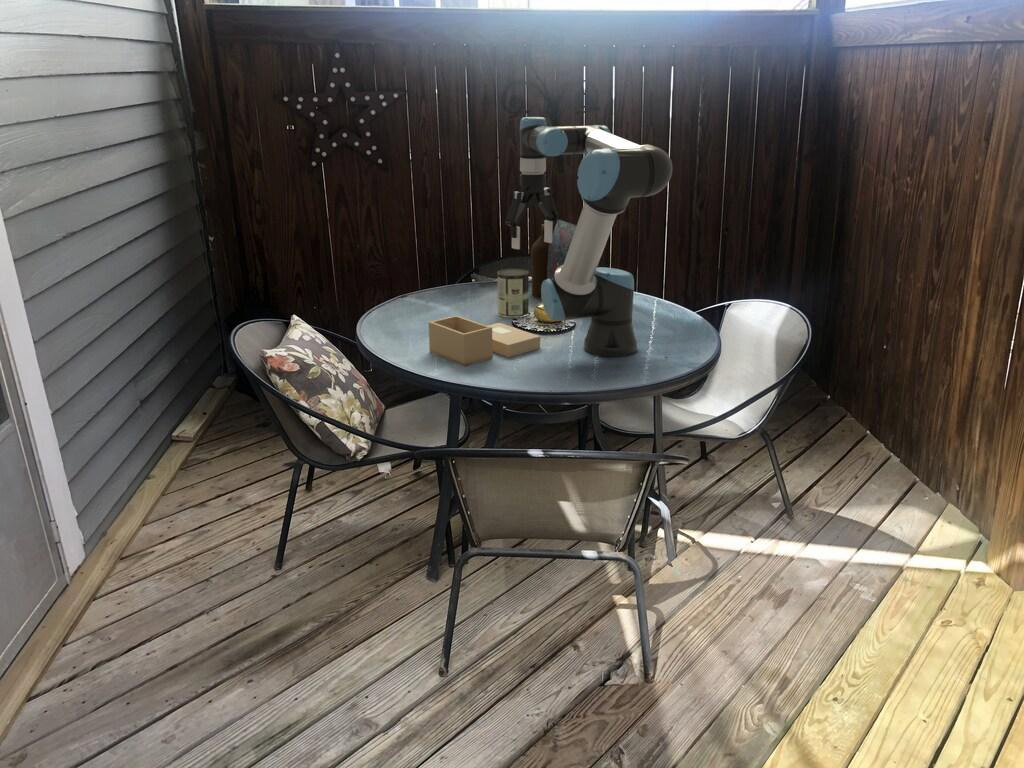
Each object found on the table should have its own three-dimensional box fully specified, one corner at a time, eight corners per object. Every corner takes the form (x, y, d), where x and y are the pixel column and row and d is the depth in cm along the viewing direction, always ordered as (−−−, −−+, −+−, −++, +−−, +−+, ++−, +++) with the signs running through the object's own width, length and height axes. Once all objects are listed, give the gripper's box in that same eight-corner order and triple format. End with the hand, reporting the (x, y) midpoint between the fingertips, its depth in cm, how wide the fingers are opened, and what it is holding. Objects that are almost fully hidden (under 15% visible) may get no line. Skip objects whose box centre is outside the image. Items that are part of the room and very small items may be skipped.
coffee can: (517, 308, 284) (517, 267, 279) (535, 315, 276) (535, 273, 271) (491, 312, 278) (491, 271, 273) (508, 320, 270) (508, 277, 265)
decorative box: (566, 298, 296) (568, 218, 286) (589, 309, 282) (592, 226, 272) (545, 300, 292) (546, 220, 282) (567, 312, 278) (569, 228, 268)
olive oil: (534, 299, 294) (535, 228, 285) (527, 292, 304) (527, 222, 295) (563, 297, 296) (565, 226, 288) (555, 290, 306) (556, 221, 297)
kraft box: (492, 358, 235) (492, 327, 232) (464, 366, 229) (463, 334, 225) (457, 345, 246) (456, 315, 243) (429, 352, 240) (428, 321, 237)
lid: (540, 348, 243) (540, 335, 242) (508, 357, 236) (508, 344, 234) (499, 334, 256) (499, 322, 255) (467, 342, 249) (467, 330, 247)
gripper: (553, 168, 255) (552, 238, 262) (492, 175, 239) (492, 249, 246) (571, 170, 249) (569, 241, 257) (510, 177, 233) (510, 253, 241)
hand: (532, 245), depth 252 cm, fingers open, 13 cm apart
